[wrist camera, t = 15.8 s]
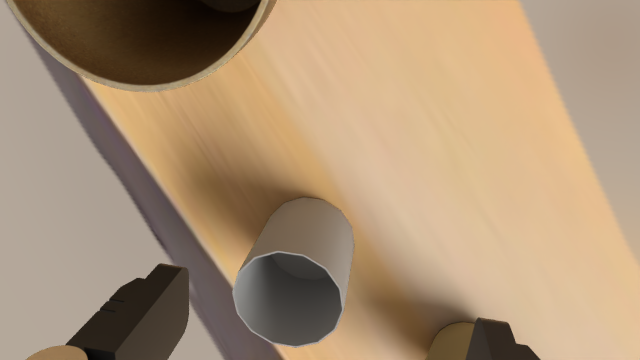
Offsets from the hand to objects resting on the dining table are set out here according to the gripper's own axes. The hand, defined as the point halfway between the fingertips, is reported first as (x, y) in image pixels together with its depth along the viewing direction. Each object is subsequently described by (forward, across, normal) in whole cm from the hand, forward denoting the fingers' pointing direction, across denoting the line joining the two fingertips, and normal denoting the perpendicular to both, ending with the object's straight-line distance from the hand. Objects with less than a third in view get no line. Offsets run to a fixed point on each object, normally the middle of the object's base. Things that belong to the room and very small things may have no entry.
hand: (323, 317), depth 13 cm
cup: (+28, +4, +13) cm, 31 cm away
